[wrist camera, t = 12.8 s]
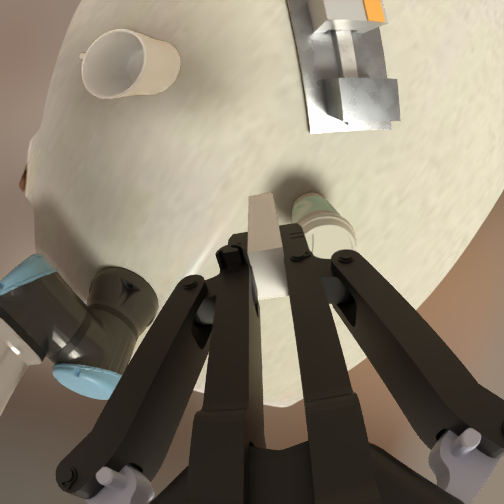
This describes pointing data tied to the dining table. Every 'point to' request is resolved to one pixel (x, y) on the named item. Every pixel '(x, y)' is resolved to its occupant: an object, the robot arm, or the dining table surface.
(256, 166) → the dining table surface
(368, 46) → the rail board
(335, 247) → the coffee cup
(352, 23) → the module
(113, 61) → the mug
